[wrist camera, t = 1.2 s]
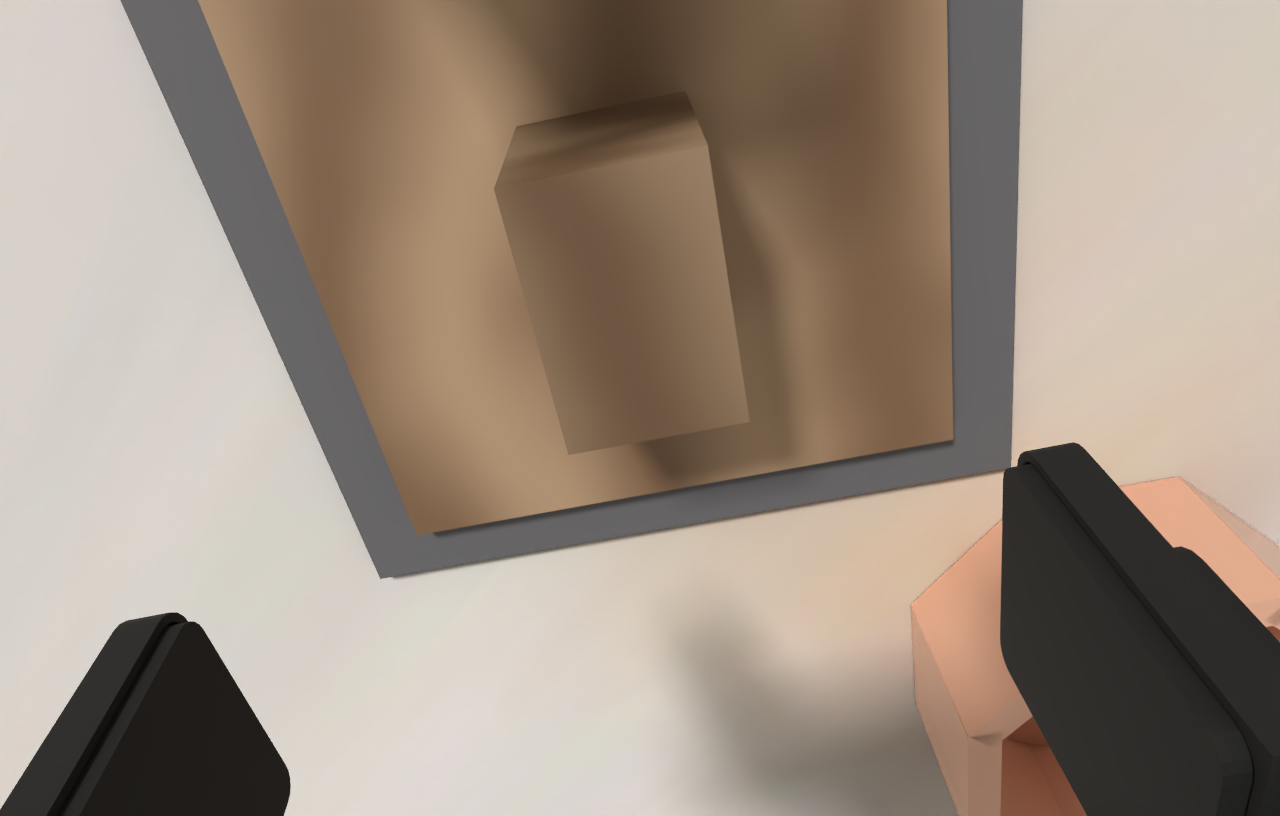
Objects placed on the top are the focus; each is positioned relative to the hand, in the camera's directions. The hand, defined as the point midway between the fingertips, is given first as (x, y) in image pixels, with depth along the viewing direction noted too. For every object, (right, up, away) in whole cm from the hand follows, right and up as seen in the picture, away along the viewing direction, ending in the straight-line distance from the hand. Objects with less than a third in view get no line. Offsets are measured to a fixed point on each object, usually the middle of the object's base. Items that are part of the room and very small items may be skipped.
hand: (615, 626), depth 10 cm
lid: (0, +7, +12) cm, 14 cm away
